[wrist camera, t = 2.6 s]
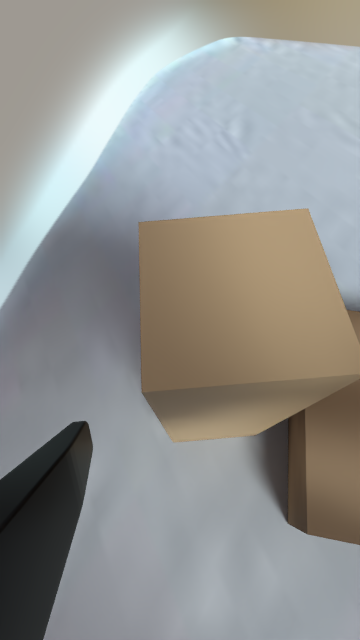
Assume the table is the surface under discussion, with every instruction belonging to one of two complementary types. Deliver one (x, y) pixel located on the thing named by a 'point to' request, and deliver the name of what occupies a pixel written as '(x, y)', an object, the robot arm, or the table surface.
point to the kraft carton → (239, 323)
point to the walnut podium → (327, 463)
